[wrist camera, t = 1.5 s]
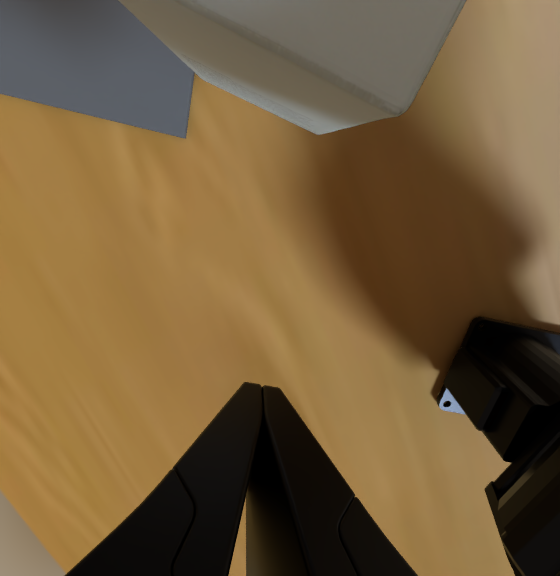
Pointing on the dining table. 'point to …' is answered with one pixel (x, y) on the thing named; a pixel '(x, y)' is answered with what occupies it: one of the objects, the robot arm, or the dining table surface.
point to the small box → (308, 52)
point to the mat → (93, 63)
